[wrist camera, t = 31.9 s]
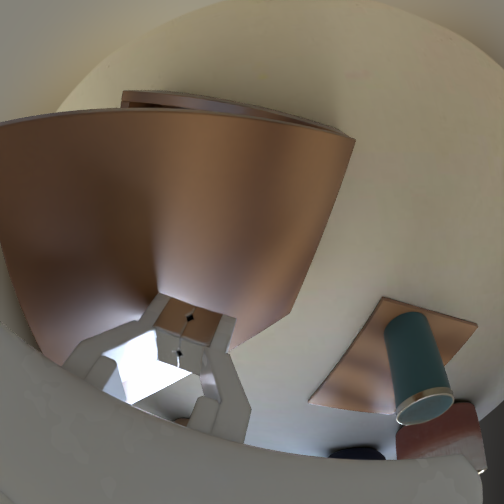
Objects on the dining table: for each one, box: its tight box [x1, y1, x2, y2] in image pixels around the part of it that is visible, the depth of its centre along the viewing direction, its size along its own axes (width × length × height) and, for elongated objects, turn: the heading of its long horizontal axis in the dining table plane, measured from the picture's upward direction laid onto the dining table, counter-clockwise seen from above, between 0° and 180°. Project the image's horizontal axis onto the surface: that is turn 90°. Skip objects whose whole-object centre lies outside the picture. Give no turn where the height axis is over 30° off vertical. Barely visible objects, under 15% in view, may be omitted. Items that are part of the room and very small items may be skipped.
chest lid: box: [0, 108, 356, 404], centre depth 12 cm, size 16×14×1 cm
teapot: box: [328, 448, 386, 460], centre depth 43 cm, size 25×16×12 cm, turn 61°
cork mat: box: [308, 297, 478, 415], centre depth 32 cm, size 22×16×1 cm
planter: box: [396, 402, 487, 475], centre depth 32 cm, size 18×18×16 cm
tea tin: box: [384, 312, 454, 425], centre depth 23 cm, size 6×6×11 cm
